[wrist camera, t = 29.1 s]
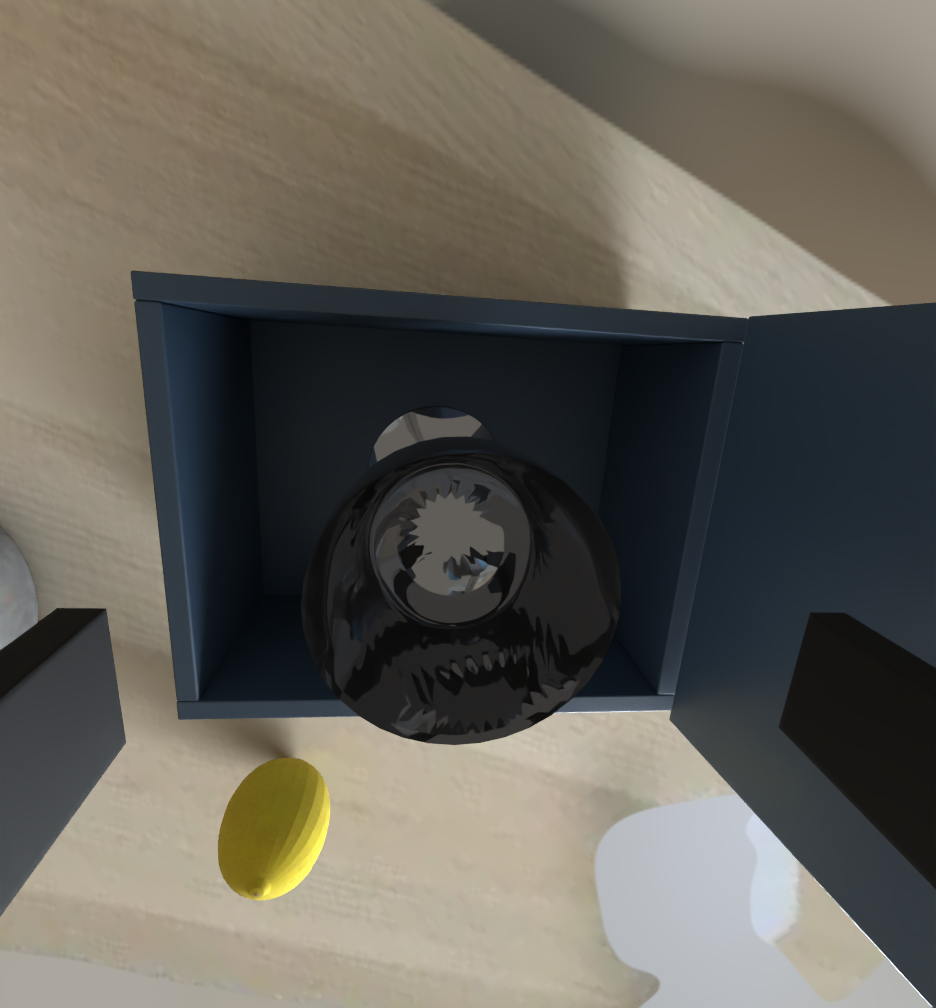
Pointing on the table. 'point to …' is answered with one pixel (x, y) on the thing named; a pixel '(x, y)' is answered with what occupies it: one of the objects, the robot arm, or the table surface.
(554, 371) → the chest
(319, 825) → the lemon
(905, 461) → the lid
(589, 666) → the wine glass
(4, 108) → the table surface
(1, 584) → the dish
